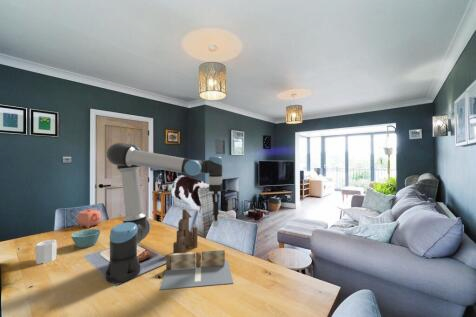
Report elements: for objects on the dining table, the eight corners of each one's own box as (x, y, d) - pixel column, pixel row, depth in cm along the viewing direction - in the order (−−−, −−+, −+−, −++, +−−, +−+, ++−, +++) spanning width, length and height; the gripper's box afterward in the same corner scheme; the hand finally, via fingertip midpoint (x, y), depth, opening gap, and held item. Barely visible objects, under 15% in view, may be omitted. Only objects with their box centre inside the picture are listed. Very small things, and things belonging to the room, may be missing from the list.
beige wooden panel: (165, 270, 106) (165, 255, 106) (166, 268, 109) (166, 253, 109) (200, 268, 109) (200, 253, 109) (200, 266, 111) (200, 251, 111)
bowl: (65, 247, 133) (65, 234, 134) (90, 239, 148) (90, 227, 148) (81, 252, 128) (81, 238, 128) (106, 242, 142) (106, 230, 142)
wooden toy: (181, 256, 123) (181, 213, 123) (173, 253, 126) (173, 211, 126) (198, 246, 137) (198, 207, 137) (190, 244, 140) (190, 206, 140)
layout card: (159, 290, 91) (159, 289, 91) (168, 264, 112) (168, 264, 112) (233, 283, 96) (233, 282, 96) (227, 260, 117) (227, 260, 117)
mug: (60, 257, 120) (60, 240, 120) (42, 265, 111) (42, 246, 112) (44, 255, 123) (44, 238, 123) (26, 262, 115) (26, 244, 115)
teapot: (71, 226, 176) (72, 209, 176) (87, 222, 188) (87, 206, 188) (90, 229, 168) (90, 211, 169) (105, 225, 180) (105, 208, 181)
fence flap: (201, 267, 109) (201, 253, 109) (201, 264, 111) (201, 251, 111) (224, 265, 111) (224, 251, 111) (224, 263, 113) (224, 250, 113)
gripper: (223, 185, 113) (223, 229, 113) (221, 182, 126) (221, 222, 126) (209, 185, 112) (209, 230, 111) (208, 182, 125) (208, 223, 124)
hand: (215, 226), depth 118 cm, fingers closed
